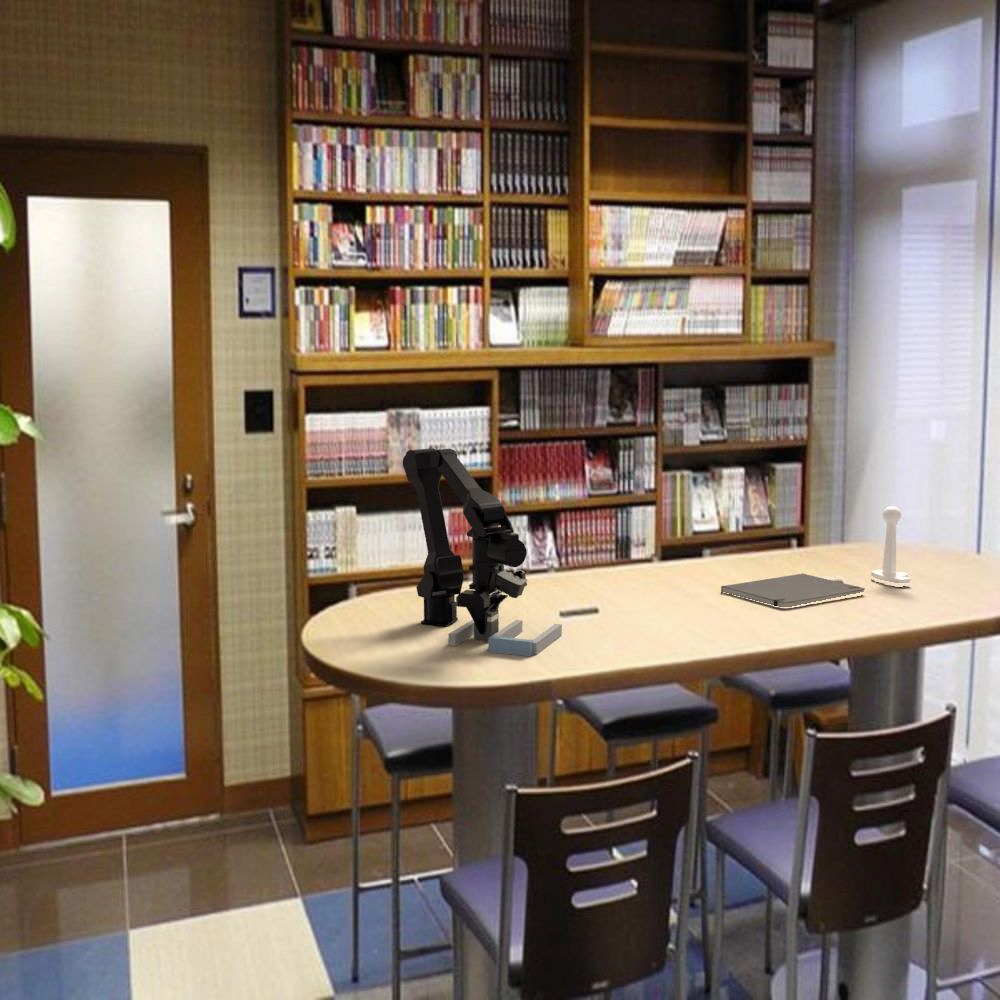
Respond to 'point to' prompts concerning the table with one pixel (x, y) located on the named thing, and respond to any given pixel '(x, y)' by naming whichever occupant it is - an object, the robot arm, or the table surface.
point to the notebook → (791, 590)
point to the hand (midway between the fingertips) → (486, 631)
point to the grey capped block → (488, 626)
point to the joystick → (891, 550)
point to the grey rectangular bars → (509, 639)
